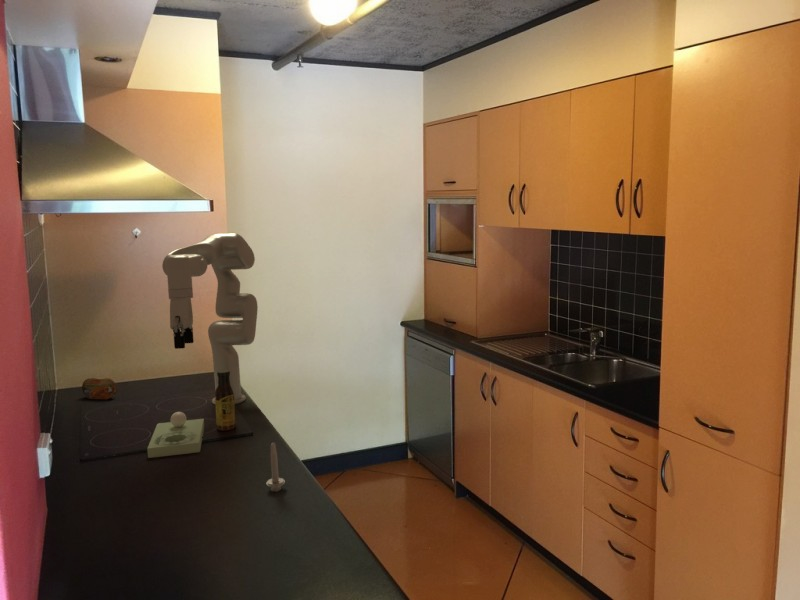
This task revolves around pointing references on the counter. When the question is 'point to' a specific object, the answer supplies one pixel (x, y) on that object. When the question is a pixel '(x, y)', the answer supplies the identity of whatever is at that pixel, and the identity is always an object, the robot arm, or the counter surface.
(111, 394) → the tin
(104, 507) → the counter surface
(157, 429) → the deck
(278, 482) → the screw
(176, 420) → the ball
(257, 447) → the counter surface
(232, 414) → the sauce bottle
